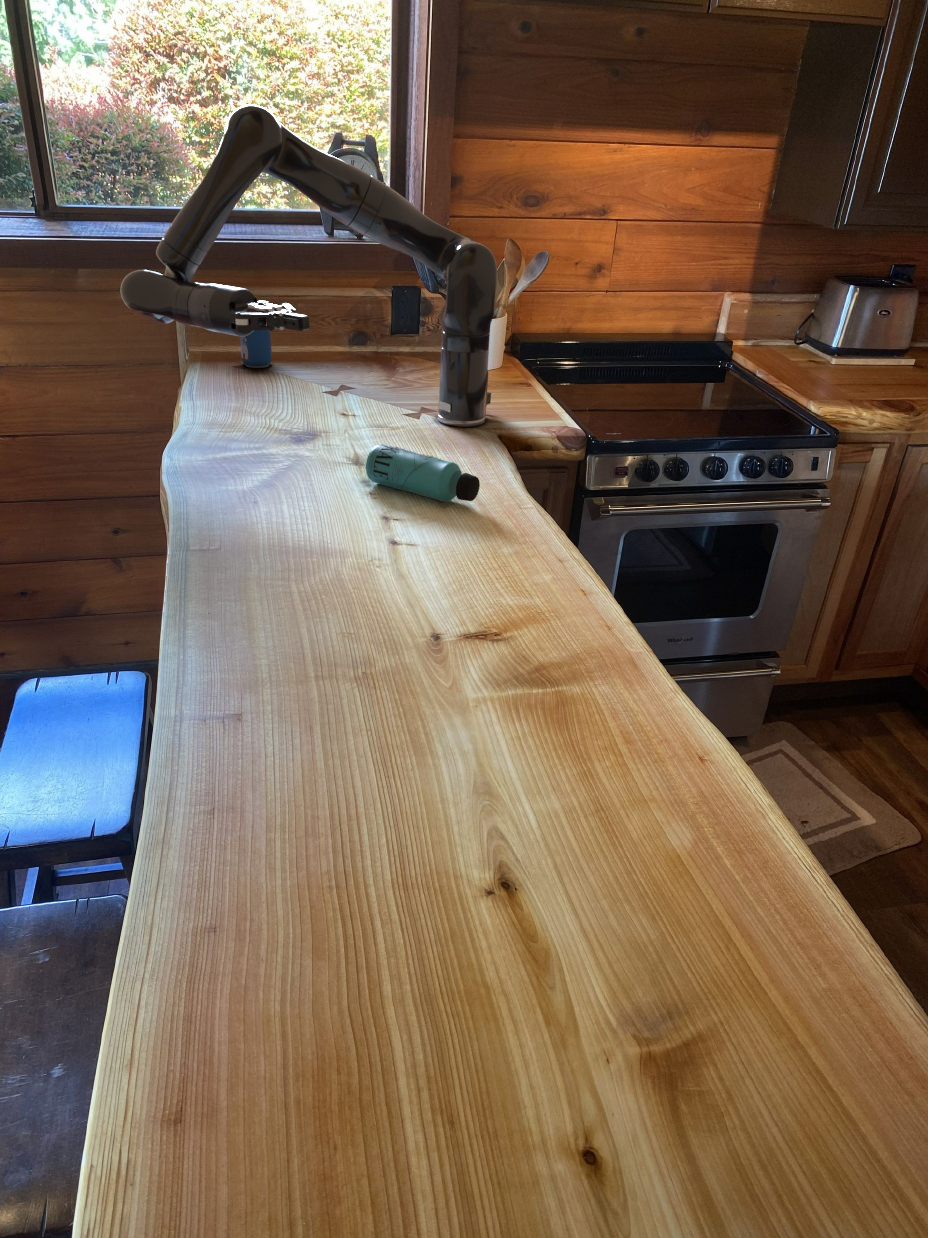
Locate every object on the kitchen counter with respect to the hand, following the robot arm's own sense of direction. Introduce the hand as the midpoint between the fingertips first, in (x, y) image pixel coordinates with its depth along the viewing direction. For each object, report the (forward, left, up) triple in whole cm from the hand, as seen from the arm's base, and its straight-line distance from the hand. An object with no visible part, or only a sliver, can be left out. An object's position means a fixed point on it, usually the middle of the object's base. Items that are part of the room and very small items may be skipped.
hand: (306, 323), depth 141 cm
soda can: (-46, -53, -23) cm, 74 cm away
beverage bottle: (0, +12, -20) cm, 23 cm away
